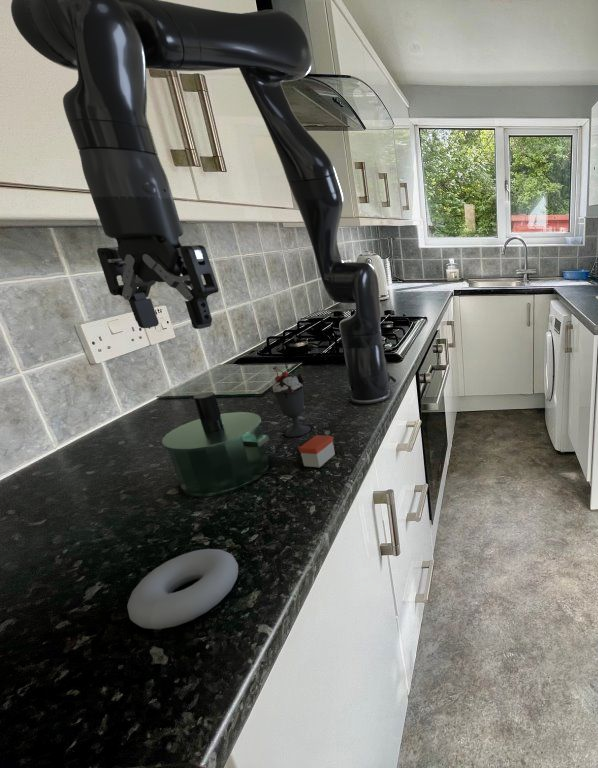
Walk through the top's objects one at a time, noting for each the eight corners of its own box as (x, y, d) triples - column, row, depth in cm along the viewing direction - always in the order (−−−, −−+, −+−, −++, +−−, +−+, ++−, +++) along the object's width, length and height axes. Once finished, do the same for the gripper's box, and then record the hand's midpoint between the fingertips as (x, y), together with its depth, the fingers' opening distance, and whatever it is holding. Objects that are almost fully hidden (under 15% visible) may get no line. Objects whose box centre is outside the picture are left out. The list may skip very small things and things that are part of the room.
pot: (214, 453, 78) (202, 413, 75) (298, 460, 75) (288, 418, 72) (149, 491, 67) (131, 445, 64) (244, 501, 64) (230, 454, 61)
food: (319, 452, 78) (316, 434, 76) (336, 454, 77) (332, 436, 76) (302, 466, 73) (298, 447, 72) (319, 468, 73) (315, 449, 71)
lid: (215, 415, 76) (204, 379, 73) (280, 419, 73) (271, 382, 71) (141, 451, 63) (125, 409, 61) (216, 458, 61) (202, 414, 58)
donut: (249, 556, 53) (155, 577, 50) (243, 534, 52) (146, 554, 48) (229, 619, 44) (113, 650, 41) (222, 595, 43) (101, 625, 40)
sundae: (275, 440, 83) (258, 370, 78) (285, 426, 89) (270, 360, 84) (310, 437, 84) (295, 367, 79) (318, 423, 90) (305, 358, 85)
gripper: (210, 196, 52) (243, 322, 57) (118, 200, 54) (158, 321, 60) (152, 191, 45) (196, 335, 51) (49, 196, 47) (102, 333, 53)
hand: (175, 327), depth 55 cm, fingers open, 8 cm apart
